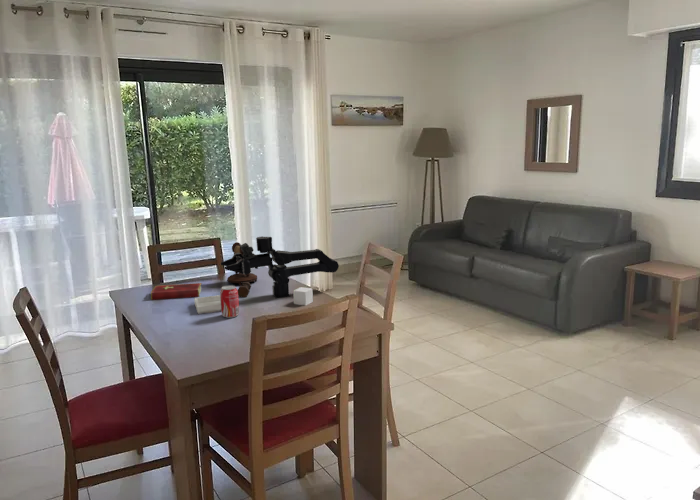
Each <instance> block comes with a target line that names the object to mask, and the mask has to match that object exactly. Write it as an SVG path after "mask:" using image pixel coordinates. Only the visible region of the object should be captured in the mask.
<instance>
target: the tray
mask: <svg viewBox="0 0 700 500" xmlns="http://www.w3.org/2000/svg"><path fill="white" fill-rule="evenodd" d="M193 298H194V307H195V309H196V312H197V314H198V315H202V314H210V313H211V314H212V313H217V312H219V313H220V312H221V299H220V294H217V295H211V296H200V297H193Z"/></svg>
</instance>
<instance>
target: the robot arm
mask: <svg viewBox="0 0 700 500" xmlns="http://www.w3.org/2000/svg"><path fill="white" fill-rule="evenodd" d="M255 241H256V250H257V251H258V252H259V253H257V254H255V253H253V252H254V248H253V246H250V245H249V244H248V243H247V242H245V243H242V244H241V245H240V248H241V250H242V252H243V255H242V254H240V253H235V254H234V253H233V256H232V257H231V258H229V259H226V260H223V261H222V262H220V265H221V266H224V270H227V271H230V272H234V273H235V272H237V273H241V274H243V273H244V274H245V275H246V274H249V273H251V272H252V269H255V270H257V269H259V268H263V267H268V271H267V272H268V276H269V277H270V278H271V279H272V280H273V285H272V295H273V297H275V299H277V298H287V297H291V293H290V292H289V291H290V290H289V287H290V286H289V284H290V277H292V276H299V275H300V276H301V275H306V274H313V273H318V272H323V273H330V274H331V273H337V271H338V270H339V266H340V265H339V262H338V261H337V260H336V259H333V258H331V257H329V256H328V255H327V254H325V252H324V251H323V250H321V249H319V248H315V249H308V250H299V251H288V250H276V249H274V248H273V237H271V236H257V237H256V238H255ZM316 259H317V260H318V262H313V263H312V262H311V263H306V264H299V265H293V266H287V265H288V264H290V263H292V262H296V261H297V262H298V261H306V260H316ZM273 262H274V263H275V264H273Z"/></svg>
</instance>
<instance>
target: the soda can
mask: <svg viewBox="0 0 700 500" xmlns="http://www.w3.org/2000/svg"><path fill="white" fill-rule="evenodd" d="M219 295H220V299H221V311H220V312H221V316H222V317H224V318H226V319H232V318H236V317H237V316H238V315H240V305H239V304H240V300H239V298H240V297H239V296H238V288H237V286H236V285H231V284H230V285H223V286H221V290H220V291H219Z"/></svg>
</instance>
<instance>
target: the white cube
mask: <svg viewBox="0 0 700 500" xmlns="http://www.w3.org/2000/svg"><path fill="white" fill-rule="evenodd" d="M292 295H293V304H294V305H300V306H308V305H309V304H311V303H313V301H314V300H313V299H314V295H313V288H310V287H300V286H299V287H298V288H296V289H294V290H293V294H292Z"/></svg>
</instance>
